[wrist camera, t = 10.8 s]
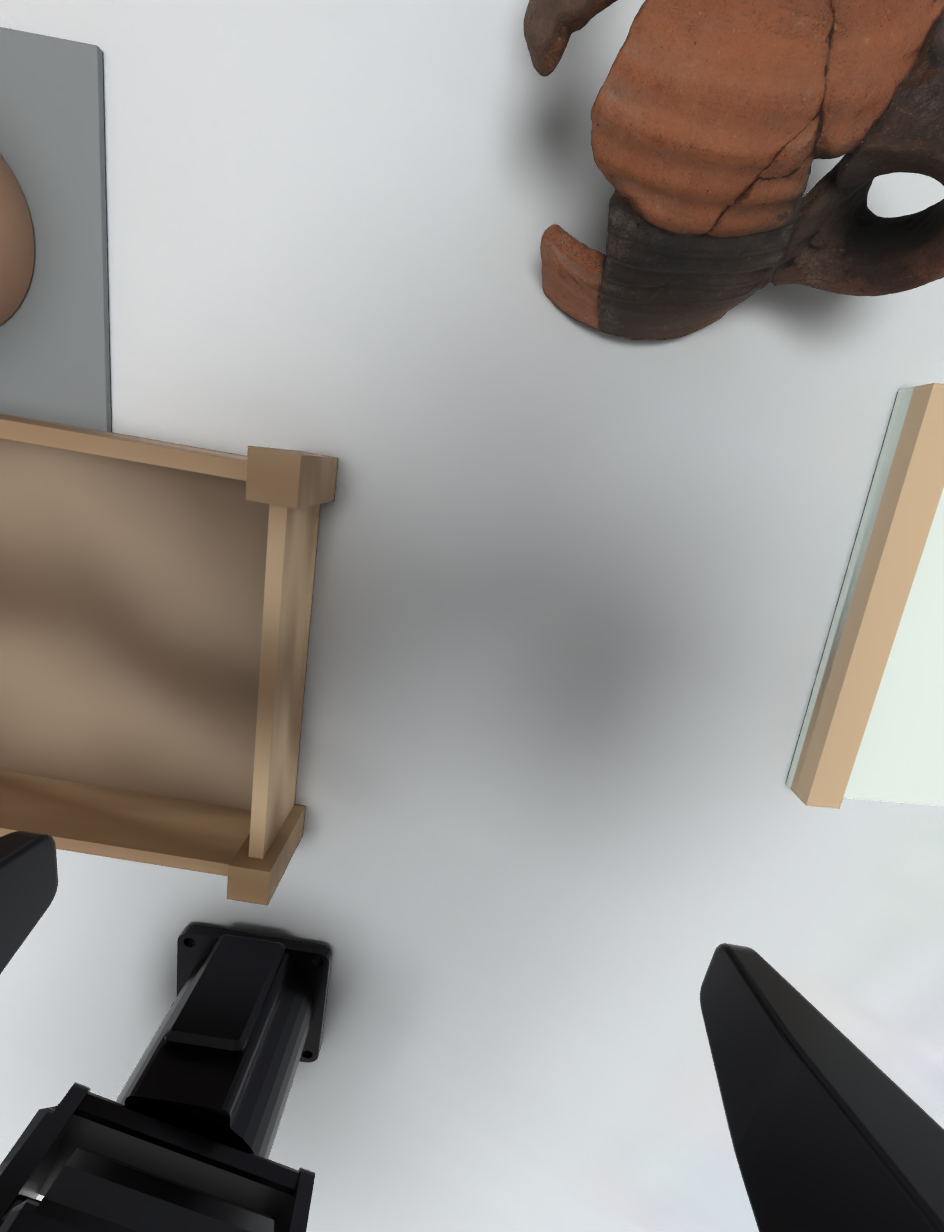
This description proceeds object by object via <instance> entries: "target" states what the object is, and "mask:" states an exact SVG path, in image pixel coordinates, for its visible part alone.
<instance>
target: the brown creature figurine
mask: <svg viewBox="0 0 944 1232" xmlns="http://www.w3.org/2000/svg"><path fill="white" fill-rule="evenodd" d="M615 1H617V0H530V1H529V4H528V7H527V10H526V13H525V18H524V35H525V39H526V42H527V46H528V50H529V52H530V56H531V60H532V63H533V66H534V68H535V69H536V71H537V72H538V73H539V74H540V75H541V76H548V75H549V74H550V73H551V72H553V70H554V69H555V68H556V67H557V65H558V63H559V61H560V59H561V57H562V55H563V52H564V50H565V48H566V46H567V43H568V41H569V38H570V35H571V34H572V33H573V32H575V31H577V30H580V29H581V28H583V27H584V26H585V25H586V24H587V23H588V22H589V20H590V19H592V18H593V17H594V16H595V15H596V14H598V13H599V12H601V11H602V10H604V9H605V8H607V7H608V6H610V5H611V4H612V3H614V2H615ZM591 120H592V131H591V145H592V150H593V156H594V161H595V163H596V165H597V167H598V168H599V169H600V171H601V172H602V173H603V175H604V176H605V178H606V179H607V180H608V181H609V182H610V183H611V184H612V185H613V186H614V188H615V192H614V194H613V195H612V197H611V199H610V204H609V217H608V239H607V246H606V254H607V256H606V255H604V254H602V253H600V252H598V251H596V250H593V249H590V248H588V247H587V246H586V245H585V244H583V243H580V242H579V241H578V240H576V239H575V238H574V237H572V236H571V235H569V234H568V233H567V232H566V231H564V230H563V229H562V228H561V227H560V226H559V225H552V226H550V227H549V228H548V229H547V230H546V231H545V232H544V234H543V236H542V240H541V258H542V275H543V290H544V293H545V295H546V296H547V297H548V298H550V299H551V300H552V301H553V303H554V304H555V305H556V306H557V307H558V308H559V309H561V310H563V311H564V312H565V313H567V314H569V315H570V316H571V317H573V318H574V319H576V320H578V321H580V322H583V323H585V324H587V325H589V326H591V327H594V328H598V329H600V330H601V331H603V332H606V333H609V334H613V335H617V336H624V337H628V338H631V339H634V340H644V339H657V340H666V339H672V338H678V337H681V336H685V335H687V334H689V333H691V332H694V331H697V330H699V329H702V328H704V327H706V326H707V325H709V324H711V323H713V322H715V321H716V320H718V319H720V318H721V317H722V316H723V315H725V314H726V313H727V311H729V310H730V309H732V308H733V307H735V306H736V305H738V304H739V303H741V302H742V301H744V300H745V299H747V298H748V297H749V296H751V295H752V294H753V293H754V292H755V291H756V290H759V289H761V288H763V287H764V286H766V285H767V284H768V283H769V282H772V283H773V284H774V285H775V286H779V285H785V284H802V285H806V286H811V287H813V288H817V289H821V290H825V291H830V292H834V293H838V294H846V295H854V296H879V295H887V294H893V293H898V292H902V291H906V290H910V289H913V288H917V287H919V286H922V285H925V284H927V283H929V282H932V281H935V280H937V279H941V278H943V277H944V199H943V200H941V201H940V202H938V203H936V204H935V205H932V206H930V207H928V208H927V209H925V210H923V211H920V212H918V213H915V214H911V215H905V216H901V217H893V218H883V217H879V216H876V215H875V214H873V213H872V212H871V211H870V210H869V209H868V207H867V194H868V191H869V188H870V186H871V184H872V181H873V179H874V177H876V176H879V175H884V174H889V173H893V172H908V173H919V174H923V175H926V176H930V177H932V178H934V179H936V180H937V181H939V182H940V183H941V184H942V185H943V186H944V0H646V1H645V2H644V3H643V5H642V6H641V8H640V10H639V11H638V13H637V15H636V16H635V18H634V20H633V23H632V25H631V27H630V30H629V33H628V36H627V38H626V40H625V42H624V44H623V46H622V47H621V49H620V51H619V53H618V55H617V57H616V59H615V61H614V62H613V64H612V67H611V69H610V72H609V74H608V76H607V78H606V80H605V82H604V84H603V86H602V87H601V89H600V91H599V93H598V95H597V98H596V100H595V102H594V105H593V107H592V110H591ZM844 154H845V156H844V157H843V158H842V159H841V160H840V161H839V163H838V164H837V165H836V166H835V167H834V168H833V169H832V170H831V171H830V172H828V173H827V174H826V175H825V176H824V177H823V178H822V179H821V180H820V181H819V182H818V183H817V184H816V185H815V186H814V188H813V189H812V190H811V191H810V192H809V193H808V194H807V195H806V196H805V197H804V198H803V199H802V196H803V193H804V191H805V190H806V186H807V182H808V178H809V175H810V172H811V163H812V161H813V159H818V158H819V159H832V158H838V157H840V156H842V155H844ZM801 199H802V200H801Z"/></svg>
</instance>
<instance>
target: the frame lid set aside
mask: <svg viewBox="0 0 944 1232" xmlns="http://www.w3.org/2000/svg"><path fill="white" fill-rule="evenodd" d="M786 785H787V786H788V787H789V788H790V789H791V790H792V791H793V792H794V793H795V794H796V795H797V796H798V798H799V799H800V800H801V801H802V802H803V803H804V804H805V805H806V806H816V807H828V808H839V809H840V806H841V803H842V800H843V798H849V799H860V800H872V801H883V802H895V803H906V804H918V805H929V806H941V807H944V384H939V383H932V384H927V385H921V386H916V387H911V388H906V389H901V390H899V391H898V395H897V398H896V402H895V405H894V409H893V412H892V416H891V419H890V422H889V426H888V429H887V433H886V436H885V440H884V443H883V447H882V450H881V454H880V457H879V461H878V464H877V468H876V471H875V475H874V478H873V482H872V485H871V489H870V492H869V496H868V499H867V503H866V506H865V510H864V513H863V517H862V520H861V524H860V527H859V531H858V534H857V538H856V541H855V545H854V548H853V552H852V555H851V559H850V562H849V566H848V569H847V573H846V576H845V580H844V583H843V587H842V590H841V594H840V597H839V601H838V604H837V608H836V611H835V615H834V618H833V622H832V625H831V629H830V632H829V636H828V639H827V643H826V646H825V650H824V653H823V657H822V660H821V664H820V667H819V671H818V674H817V678H816V681H815V685H814V688H813V692H812V695H811V699H810V702H809V706H808V709H807V713H806V716H805V720H804V723H803V726H802V730H801V733H800V737H799V740H798V744H797V747H796V751H795V754H794V758H793V761H792V765H791V768H790V772H789V775H788V779H787V782H786Z"/></svg>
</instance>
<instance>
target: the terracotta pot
mask: <svg viewBox="0 0 944 1232" xmlns="http://www.w3.org/2000/svg"><path fill="white" fill-rule="evenodd" d="M33 264H34V235H33V227H32V222H31V218H30V213H29V210H28V207H27V204H26V201H25V198H24V195H23V193H22V191H21V188H20V186H19V184H18V182H17V180H16V178H15V176H14V174H13V173H12V171H11V169H10V167H9V166H8V164H7V163H6V161H5V160H4V159H3V157H2V156H1V154H0V325H2V324H3V323H4V322H5V321H6V320H7V319H9V318H10V317H11V316H12V314H13V313H14V312H15V311H16V310H17V308H18V307H19V305H20V304H21V302H22V300H23V298H24V297H25V294H26V292H27V289H28V287H29V284H30V280H31V276H32V272H33Z"/></svg>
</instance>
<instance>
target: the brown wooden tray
mask: <svg viewBox="0 0 944 1232" xmlns="http://www.w3.org/2000/svg"><path fill="white" fill-rule="evenodd" d="M337 464H338V458H335V457H329V456H324V455H318V454H312V453H307V452H301V451H295V450H285V449H274V448H264V447H254V446H248V456H242V455H237V454H231V453H225V452H219V451H214V450H208V449H202V448H197V447H191V446H185V445H180V444H174V443H168V442H163V441H157V440H151V439H146V438H140V437H134V436H128V435H123V434H117V433H111V432H104V431H98V430H92V429H87V428H81V427H75V426H70V425H64V424H58V423H53V422H47V421H41V420H36V419H30V418H24V417H18V416H13V415H7V414H1V413H0V837H2V836H4V835H7V834H9V833H12V832H15V831H30V832H36V833H42V834H48V835H50V836H52V838H53V839H54V841H55V844H56V849H61V850H67V851H74V852H80V853H86V854H92V855H99V856H105V857H111V858H118V859H124V860H130V861H136V862H143V863H149V864H155V865H161V866H168V867H174V868H180V869H187V870H193V871H199V872H205V873H212V874H218V875H224V876H228V887H227V899H231V900H237V901H243V902H249V903H256V904H262V905H268V904H269V902H270V900H271V898H272V896H273V894H274V892H275V890H276V888H277V886H278V884H279V882H280V880H281V878H282V876H283V874H284V872H285V870H286V868H287V866H288V864H289V862H290V860H291V858H292V856H293V854H294V852H295V850H296V848H297V846H298V844H299V842H300V840H301V838H302V836H303V828H304V817H305V807H306V806H300V805H294V803H295V791H296V780H297V768H298V757H299V745H300V733H301V722H302V710H303V699H304V687H305V675H306V664H307V652H308V641H309V629H310V617H311V606H312V594H313V583H314V571H315V559H316V548H317V536H318V525H319V513H320V504H323V503H327V502H332V501H334V496H335V485H336V475H337Z"/></svg>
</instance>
